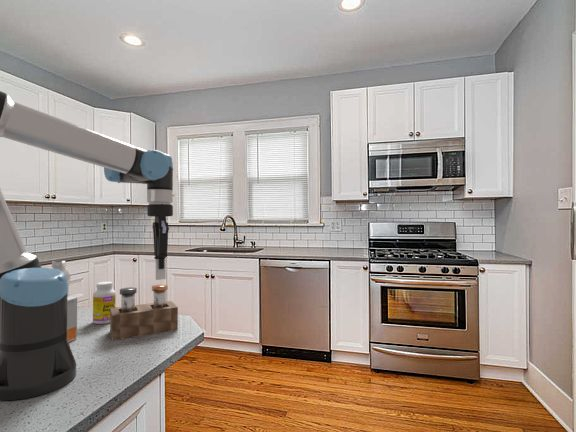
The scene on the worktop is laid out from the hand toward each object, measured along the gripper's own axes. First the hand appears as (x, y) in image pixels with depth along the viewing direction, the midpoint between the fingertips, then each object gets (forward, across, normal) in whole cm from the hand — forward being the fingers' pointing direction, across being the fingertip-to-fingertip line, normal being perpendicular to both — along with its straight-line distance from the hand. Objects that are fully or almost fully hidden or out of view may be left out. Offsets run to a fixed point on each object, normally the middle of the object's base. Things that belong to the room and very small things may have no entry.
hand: (160, 279), depth 108 cm
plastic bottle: (+15, +23, +28) cm, 39 cm away
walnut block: (+15, 0, +5) cm, 16 cm away
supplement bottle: (+16, +16, +15) cm, 27 cm away
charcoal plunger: (+11, 0, +9) cm, 14 cm away
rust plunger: (+11, 0, 0) cm, 11 cm away
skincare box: (+15, +1, +26) cm, 30 cm away
